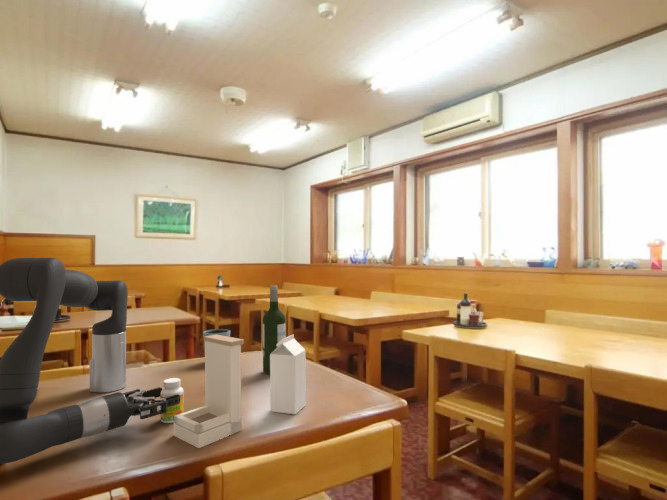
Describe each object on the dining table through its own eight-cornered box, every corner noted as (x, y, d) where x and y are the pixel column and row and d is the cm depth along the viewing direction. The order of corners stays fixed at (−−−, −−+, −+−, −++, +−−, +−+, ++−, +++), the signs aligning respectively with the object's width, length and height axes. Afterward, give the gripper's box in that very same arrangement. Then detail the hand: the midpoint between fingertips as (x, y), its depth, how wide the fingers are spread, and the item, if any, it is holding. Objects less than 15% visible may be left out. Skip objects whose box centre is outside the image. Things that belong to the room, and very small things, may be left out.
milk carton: (306, 405, 111) (305, 335, 112) (295, 415, 105) (294, 340, 105) (282, 402, 114) (281, 333, 114) (270, 412, 107) (269, 338, 107)
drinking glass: (204, 367, 151) (204, 334, 151) (201, 360, 161) (201, 329, 161) (232, 364, 155) (232, 332, 155) (228, 358, 165) (228, 327, 165)
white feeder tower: (199, 448, 87) (199, 348, 87) (172, 435, 94) (172, 342, 94) (244, 430, 96) (244, 339, 96) (216, 418, 103) (216, 334, 103)
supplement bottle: (161, 425, 99) (161, 384, 99) (159, 417, 104) (159, 378, 104) (185, 421, 102) (184, 381, 102) (182, 413, 106) (181, 375, 107)
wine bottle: (266, 368, 149) (266, 285, 149) (288, 369, 148) (287, 285, 148) (260, 374, 141) (259, 286, 141) (282, 375, 140) (281, 286, 140)
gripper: (114, 404, 86) (185, 385, 98) (87, 390, 95) (155, 374, 107) (114, 441, 85) (185, 416, 98) (87, 423, 94) (156, 403, 107)
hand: (170, 394), depth 103 cm, fingers open, 8 cm apart
